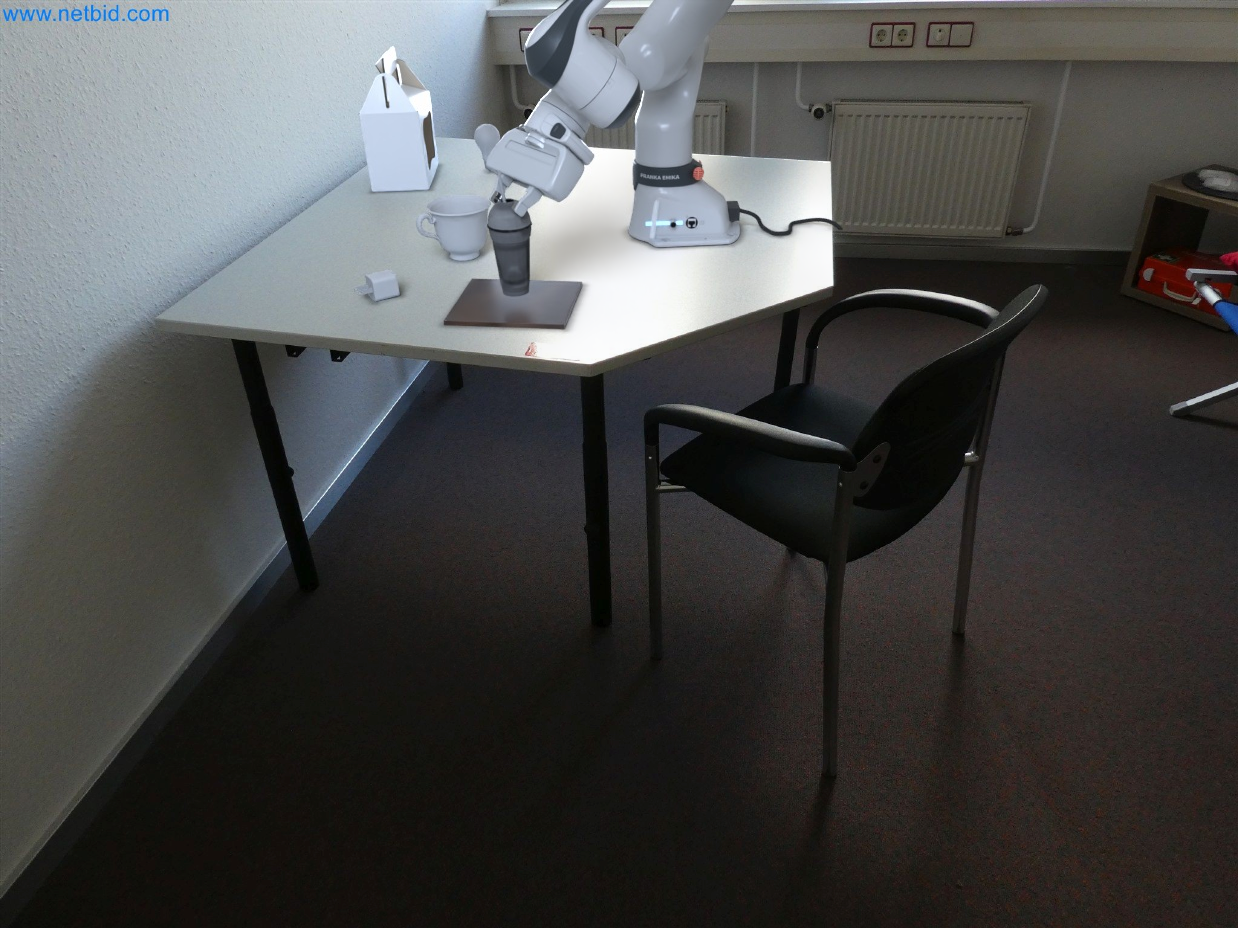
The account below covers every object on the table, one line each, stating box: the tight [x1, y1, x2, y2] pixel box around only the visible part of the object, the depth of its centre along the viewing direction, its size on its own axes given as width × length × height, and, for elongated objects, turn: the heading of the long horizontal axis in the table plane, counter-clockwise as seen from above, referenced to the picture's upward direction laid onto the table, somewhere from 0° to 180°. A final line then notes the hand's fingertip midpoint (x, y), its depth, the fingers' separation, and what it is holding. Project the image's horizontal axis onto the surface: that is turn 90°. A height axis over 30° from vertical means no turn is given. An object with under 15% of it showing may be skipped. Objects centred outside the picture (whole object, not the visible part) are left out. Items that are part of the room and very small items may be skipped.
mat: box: [443, 278, 583, 330], centre depth 154 cm, size 20×18×1 cm
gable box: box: [358, 46, 440, 193], centre depth 210 cm, size 22×13×28 cm, turn 4°
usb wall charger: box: [353, 268, 400, 303], centre depth 156 cm, size 4×7×4 cm, turn 123°
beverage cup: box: [487, 170, 533, 297], centre depth 147 cm, size 7×7×20 cm
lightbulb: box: [474, 123, 501, 172], centre depth 219 cm, size 6×6×11 cm
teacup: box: [415, 194, 492, 262], centre depth 170 cm, size 12×15×10 cm
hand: (505, 208), depth 144 cm, fingers closed on beverage cup, 5 cm apart
